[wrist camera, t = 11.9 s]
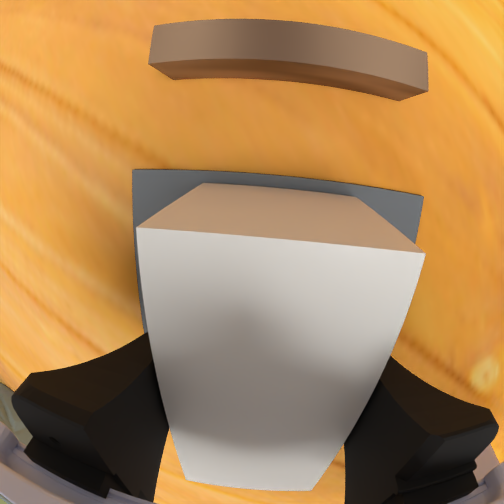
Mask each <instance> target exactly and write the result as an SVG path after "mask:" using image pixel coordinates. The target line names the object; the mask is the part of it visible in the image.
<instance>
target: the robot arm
mask: <svg viewBox="0 0 504 504" xmlns="http://www.w3.org/2000/svg"><path fill="white" fill-rule="evenodd" d="M11 402H12V406H13V408H14V410H15V412H16V413H17V415H18V417H19V418H20V420H21V421H22V422H23V424H24V425H25V427H26V428H27V429H28V431H29V432H30V434H31V435H32V436H33V437H32V439H31V440H30V442H29V443H28V445H27V446H26V445H24V444H23V443H21V442H20V441H18V438H17V437H16V436H15V434H14V433H13V432H12V431H11V430H10V429H9V428H8V427H7V426H6V425H5V424H4V423H2V422H1V421H0V494H1V495H3V496H4V497H5V498H6V499H8V500H9V501H10V502H11V503H13V504H157V503H153V501H154V494H155V488H156V483H157V477H158V472H159V468H160V463H161V458H162V454H163V450H164V446H165V442H166V438H167V434H168V431H169V424H168V420H167V416H166V413H165V409H164V405H163V401H162V397H161V393H160V388H159V384H158V380H157V375H156V370H155V365H154V361H153V355H152V350H151V345H150V339H149V334H148V332H146V333H145V334H143V335H142V336H140V337H138V338H137V339H135V340H134V341H132V342H130V343H129V344H127V345H125V346H123V347H121V348H119V349H117V350H115V351H113V352H111V353H109V354H106V355H104V356H101V357H98V358H96V359H93V360H90V361H88V362H85V363H81V364H78V365H74V366H70V367H66V368H62V369H57V370H51V371H44V372H36V373H31V374H30V375H29V376H28V377H27V378H26V379H25V381H24V382H23V383H22V384H21V385H20V386H19V388H18V389H17V390H16V391H15V392H14V394H13V395H12V396H11ZM498 429H499V426H498V424H497V422H496V420H495V418H494V416H493V415H492V413H491V411H490V410H489V409H487V408H484V407H481V406H477V405H474V404H471V403H468V402H465V401H462V400H460V399H457V398H455V397H453V396H450V395H448V394H446V393H444V392H442V391H440V390H438V389H437V388H435V387H433V386H431V385H429V384H428V383H426V382H424V381H423V380H421V379H420V378H418V377H417V376H415V375H414V374H412V373H411V372H410V371H408V370H407V369H406V368H404V367H403V366H402V365H401V364H399V363H398V362H397V361H396V360H394V359H393V358H392V357H391V356H390V357H389V359H388V361H387V363H386V366H385V368H384V370H383V372H382V374H381V376H380V378H379V380H378V383H377V385H376V387H375V389H374V391H373V393H372V394H371V396H370V398H369V400H368V402H367V404H366V406H365V408H364V410H363V411H362V413H361V415H360V417H359V419H358V420H357V422H356V424H355V426H354V427H353V429H352V431H351V432H350V434H349V436H348V437H347V439H346V440H345V442H344V450H345V504H504V462H502V463H499V461H498V459H497V457H496V455H495V453H494V451H493V448H492V446H491V444H490V443H491V442H492V441H493V439H494V438H495V436H496V434H497V432H498Z"/></svg>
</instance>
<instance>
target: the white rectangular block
mask: <svg viewBox="0 0 504 504" xmlns="http://www.w3.org/2000/svg"><path fill="white" fill-rule="evenodd" d="M136 234H137V247H138V258H139V268H140V277H141V286H142V294H143V301H144V308H145V315H146V322H147V328H148V334H149V339H150V345H151V350H152V355H153V361H154V365H155V370H156V375H157V380H158V384H159V388H160V393H161V397H162V401H163V405H164V409H165V413H166V416H167V420H168V424H169V427H170V431H171V434H172V438H173V441H174V445H175V448H176V451H177V454H178V457H179V460H180V463H181V466H182V469H183V472H184V475H185V478H186V480H189V481H194V482H200V483H206V484H212V485H219V486H226V487H234V488H244V489H256V490H275V491H311V490H312V489H313V487H314V486H315V485H316V483H317V482H318V481H319V479H320V478H321V476H322V475H323V474H324V472H325V471H326V469H327V468H328V466H329V465H330V464H331V462H332V461H333V459H334V458H335V456H336V455H337V453H338V452H339V450H340V448H341V447H342V445H343V444H344V442H345V440H346V439H347V437H348V436H349V434H350V432H351V431H352V429H353V427H354V426H355V424H356V422H357V420H358V419H359V417H360V415H361V413H362V411H363V410H364V408H365V406H366V404H367V402H368V400H369V398H370V396H371V394H372V393H373V391H374V389H375V387H376V385H377V383H378V380H379V378H380V376H381V374H382V372H383V370H384V368H385V366H386V363H387V361H388V359H389V357H390V354H391V352H392V350H393V347H394V345H395V343H396V340H397V338H398V335H399V333H400V330H401V328H402V325H403V323H404V320H405V317H406V315H407V312H408V309H409V306H410V303H411V300H412V297H413V294H414V291H415V288H416V285H417V282H418V279H419V276H420V272H421V269H422V265H423V262H424V258H425V255H426V254H425V253H424V252H423V251H422V250H421V249H420V248H419V247H418V246H416V245H415V244H414V243H413V242H412V241H411V240H409V239H408V238H407V237H406V236H405V235H404V234H402V233H401V232H400V231H399V230H398V229H396V228H395V227H394V226H393V225H391V224H390V223H389V222H388V221H387V220H385V219H384V218H383V217H382V216H380V215H379V214H378V213H376V212H375V211H374V210H373V209H371V208H370V207H369V206H367V205H366V204H365V203H363V202H362V201H361V200H360V199H358V198H357V197H353V196H346V195H338V194H330V193H321V192H313V191H303V190H294V189H284V188H273V187H261V186H248V185H233V184H216V183H202V184H201V185H199V186H197V187H196V188H194V189H193V190H191V191H190V192H188V193H186V194H185V195H183V196H182V197H180V198H179V199H177V200H176V201H174V202H173V203H171V204H169V205H168V206H166V207H165V208H163V209H162V210H160V211H159V212H158V213H156V214H155V215H153V216H152V217H150V218H149V219H147V220H146V221H144V222H143V223H142V224H140V225H139V226H137V227H136Z"/></svg>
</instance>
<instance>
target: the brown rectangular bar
mask: <svg viewBox="0 0 504 504" xmlns="http://www.w3.org/2000/svg"><path fill="white" fill-rule="evenodd" d="M148 64H149V65H151V66H152V67H154V68H156V69H157V70H159V71H161V72H162V73H164V74H165V75H167V76H168V77H170V78H171V79H173V80H176V79H194V78H250V79H269V80H282V81H292V82H302V83H310V84H317V85H324V86H331V87H337V88H343V89H348V90H353V91H358V92H363V93H368V94H372V95H377V96H381V97H385V98H389V99H393V100H397V101H401V100H404V99H407V98H410V97H413V96H416V95H419V94H422V93H425V92H428V60H427V52H424V51H421V50H418V49H416V48H413V47H410V46H407V45H404V44H401V43H397V42H394V41H391V40H387V39H384V38H380V37H376V36H373V35H369V34H364V33H360V32H356V31H351V30H346V29H341V28H336V27H330V26H324V25H317V24H310V23H302V22H293V21H281V20H265V19H215V20H198V21H187V22H178V23H170V24H162V25H156V26H154V30H153V35H152V41H151V48H150V55H149V62H148Z"/></svg>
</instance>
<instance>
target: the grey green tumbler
mask: <svg viewBox="0 0 504 504" xmlns="http://www.w3.org/2000/svg"><path fill="white" fill-rule="evenodd" d="M13 394H14V392H13V391H12V390H11V389H9V388H8V387H7V386H5V385H4V384H2V383H0V421H1V422H2V423H4V424H5V425H6V426H7V427H8V428H9V429H10V430H11V431H12V432H13V433H14V434H15V436H16V437H17V438H18V441H20V442H21V443H23V444H24V445H26V446H27V445H28V443H29V442H30V440H31V439H32V437H33V436H32V435H31V434H30V432H29V431H28V429H27V428H26V427H25V425H24V424H23V422H22V421H21V420H20V418H19V417H18V415H17V413H16V412H15V410H14V408H13V406H12V402H11V396H12V395H13ZM0 498H1V499H3V500H4V501H5V502H6V503H8V504H13V503H11V502H10V501H9V500H8V499H6V498H5V497H4V496H3V495H1V494H0Z"/></svg>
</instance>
